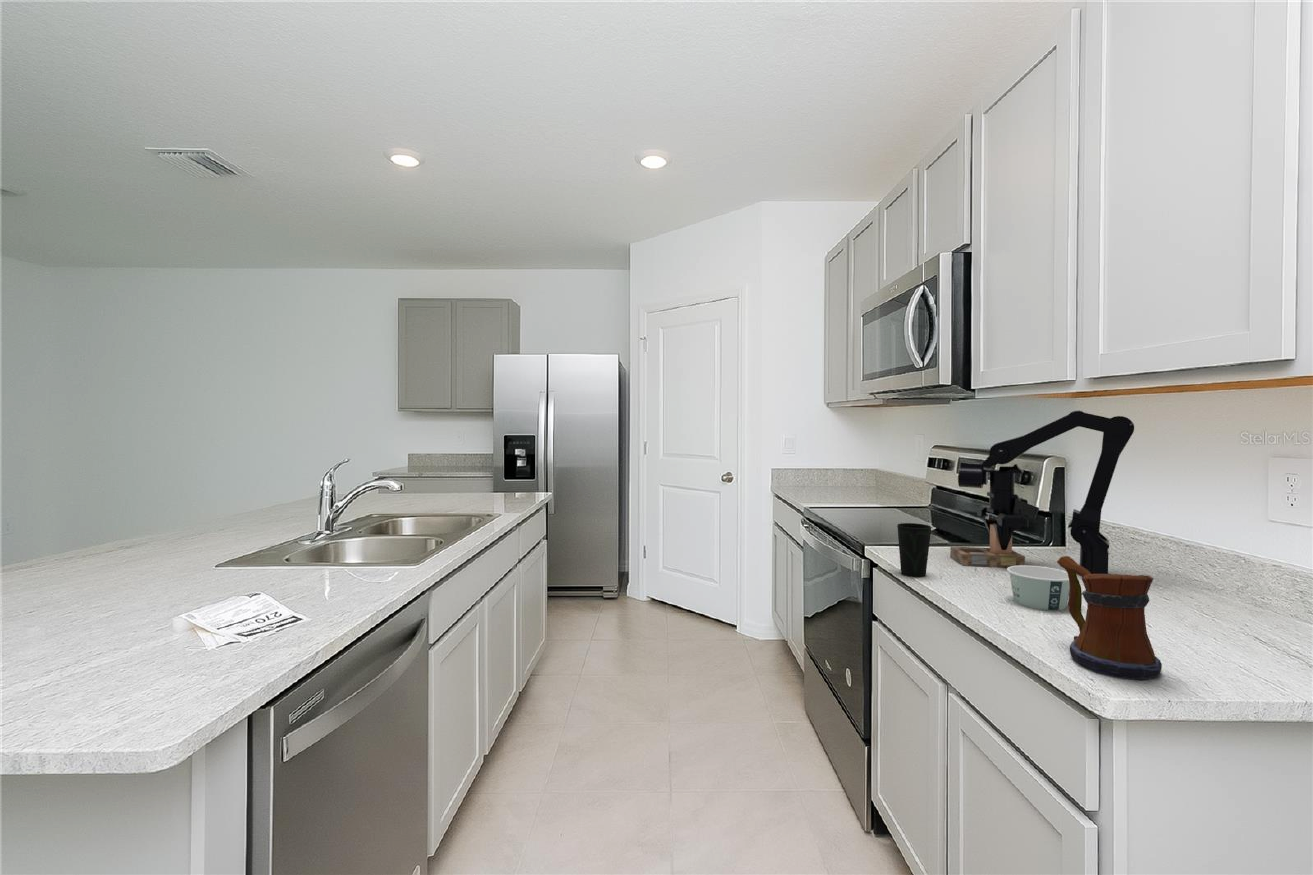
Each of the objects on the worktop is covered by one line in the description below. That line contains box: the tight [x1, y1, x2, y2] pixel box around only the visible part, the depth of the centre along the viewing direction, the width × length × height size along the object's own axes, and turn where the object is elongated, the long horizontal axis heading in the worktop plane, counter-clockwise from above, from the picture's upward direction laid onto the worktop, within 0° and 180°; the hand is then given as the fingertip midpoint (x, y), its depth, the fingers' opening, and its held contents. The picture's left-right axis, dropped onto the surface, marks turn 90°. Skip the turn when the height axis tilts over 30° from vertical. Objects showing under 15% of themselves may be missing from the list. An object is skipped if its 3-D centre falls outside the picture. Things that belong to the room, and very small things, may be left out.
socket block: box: [949, 545, 1026, 569], centre depth 162 cm, size 10×15×3 cm
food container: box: [1006, 564, 1070, 611], centre depth 126 cm, size 12×12×6 cm
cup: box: [896, 522, 932, 578], centre depth 149 cm, size 8×8×12 cm
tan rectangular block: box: [989, 524, 1013, 554], centre depth 161 cm, size 4×4×9 cm
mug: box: [1056, 555, 1163, 681], centre depth 97 cm, size 18×12×15 cm, turn 0°
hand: (1000, 548), depth 161 cm, fingers closed on tan rectangular block, 4 cm apart
